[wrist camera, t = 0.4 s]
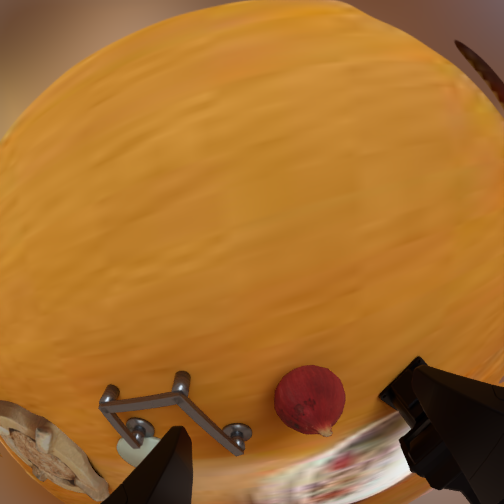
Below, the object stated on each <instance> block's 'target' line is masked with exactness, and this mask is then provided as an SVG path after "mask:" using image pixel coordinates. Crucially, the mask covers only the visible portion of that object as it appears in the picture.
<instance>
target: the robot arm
mask: <svg viewBox="0 0 504 504" xmlns="http://www.w3.org/2000/svg"><path fill="white" fill-rule="evenodd" d="M379 397H380V399H381V400H382V401H384V402H385V403H387V404H388V405H390V406H391V407H393V408H394V409H396V410H397V411H399V413H400V414H401V415H402V417H403V418H404V420H405V421H406V422H407V424H408V425H409V426H410V428H411V430H410V431H409V432H408V433H407V434H406V435H404V436H402V437H401V438H400V439H399V442H400V444H401V445H400V446H401V449H402V451H403V453H404V456H405V458H406V461H407V463H408V465H409V468H410V471H411V472H412V473H416V474H418V475H419V476H420V477H423V478H426V480H427V481H428V483H429V484H430V486H431V487H432V488H434V489H437V490H442V489H443V488H444V489H449V490H455V491H460V492H462V494H463V495H464V496H465V497H466V499H467V500H468V501H469V502H470V504H504V387H500V386H496V385H491V384H488V383H485V382H481V381H477V380H474V379H470V378H467V377H463V376H460V375H456V374H453V373H449V372H446V371H443V370H440V369H436V368H433V367H430V366H428V365H427V364H426V363H425V361H424V360H423V359H422V358H421V357H420V356H418V357H417V358H416V359H415V360H414V361H413V362H412V363H411V364H410V365H409V366H408V367H407V368H406V369H405V370H404V371H403V372H402V373H401V374H400V375H399V376H398V377H397V378H396V379H395V380H394V381H393V382H392V383H391V384H390V385H389V386H388V387H387V388H386V389H385V390H384V391H383V392H382V393H381V394H380V395H379ZM192 484H193V463H192V442H191V439H190V437H189V435H188V433H187V431H186V430H185V428H184V427H183V426H173V427H171V428H170V429H169V431H168V432H167V433H166V434H165V435H164V437H163V438H162V439H161V440H160V441H159V442H158V443H157V445H156V446H155V447H154V448H153V449H152V450H151V451H150V453H149V454H148V455H147V456H146V457H145V458H144V459H143V460H142V462H141V463H140V464H139V465H138V466H137V467H136V468H135V469H134V470H133V472H132V473H131V474H130V475H129V476H128V477H127V478H126V479H125V480H124V481H123V484H120V485H119V487H118V488H117V489H116V490H115V491H114V492H113V493H112V494H111V495H110V496H108V497H107V498H106V499H105V500H104V501H103V502H101V503H100V504H191V497H192Z"/></svg>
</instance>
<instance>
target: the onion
mask: <svg viewBox="0 0 504 504" xmlns="http://www.w3.org/2000/svg"><path fill="white" fill-rule="evenodd" d="M344 404H345V392H344V388H343V385H342V383H341V380H340V379H339V378H338V377H337V376H336V375H335V374H334V373H333V372H331V371H330V370H329V369H328V368H323V367H319V366H315V365H307V366H301V367H299V368H296V369H294V370H292V371H291V372H289V373H288V374H287V375H285V376H284V377H283V378H282V380H281V381H280V383H279V384H278V386H277V388H276V390H275V397H274V405H275V410H276V413H277V415H278V416H279V417H280V419H281V420H282V421H283V422H284V423H285V424H286V425H287V426H288V427H290V428H292V429H294V430H296V431H298V432H301V433H303V434H320V435H322V436H324V437H329V436H331V435H332V433H333V432H332V431H331V429H332V426H333V425H334V424H335V423H336V422H337V420H338V419H339V418H340V416H341V414H342V412H343V408H344Z"/></svg>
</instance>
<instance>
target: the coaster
mask: <svg viewBox="0 0 504 504" xmlns="http://www.w3.org/2000/svg"><path fill="white" fill-rule="evenodd" d="M160 440H161V439H160V438H157V437H153V436H151V437H148V438H146V437H144V441H143V445H142V446H141V447H140V449H133V448H132V447H131V446H130V445H129V444H128V443H127V442H126V441H125V440H124V439H123V437H122V438H120V439H119V441H118V444H117V451H118V453H119V454H120V456H121V457H122V458H123V459H124V460H125V461H126V462H128V463H129V464H131V465H132V466H134V467H137V466H138V465H139V464H140V463H141V462H142V460H143V459H144V458H145V457H146V456H147V455H148V454H149V453H150V451H151V450H152V449H153V448H154V447H155V446H156V445H157V443H158V442H159V441H160Z"/></svg>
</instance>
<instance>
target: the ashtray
mask: <svg viewBox="0 0 504 504" xmlns="http://www.w3.org/2000/svg"><path fill="white" fill-rule="evenodd" d="M0 435H1V436H2V438H3V439H4V441H5V442H6V444H7V445H8V446H9V447H10V448H11V449H12V450H13V451H14V452H15V453H16V454H17V455H18V456H19V457H20V458H21V459H22V460H23V461H24V462H25V463H26V464H27V465H29V466H30V467H31V468H32V469H33V474H34V475H35V476H36V477H37V478H38V479H39V480H40V481H43V482H44V481H45V480H46V479H47V478H48V479H49V480H51V481H52V482H54V483H55V484H57V485H59V486H61V487H63V488H65V489H68V490H72V491H75V492H79V493H86V494H87V495H88V496H90V497H91V498H92V499H93V500H95V501H104V500H105V499H106V498H107V497H108V496H110V494H109V490H108V483H107V482H106V480H105V479H104V478H101V477H100V476H98V475H97V474H96V473H95V471H94V470H93V468H92V467H91V465H90V463H89V461H88V458H87V455H86V454H85V452H84V451H83V450H82V449H81V448H80V447H79V446H78V445H77V444H75V443H74V442H73V441H72V440H71V439H70V438H69V437H68V436H67V435H66V434H64V433H63V432H62V431H61V430H60V429H59V428H58V427H56V426H55V425H54V424H53V423H51V422H50V421H48V420H47V419H45V418H44V417H41V416H38V415H36V414H33V413H31V412H29V411H28V410H26V409H24V408H23V407H21V406H19V405H17V404H14V403H12V402H8V401H0Z"/></svg>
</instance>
